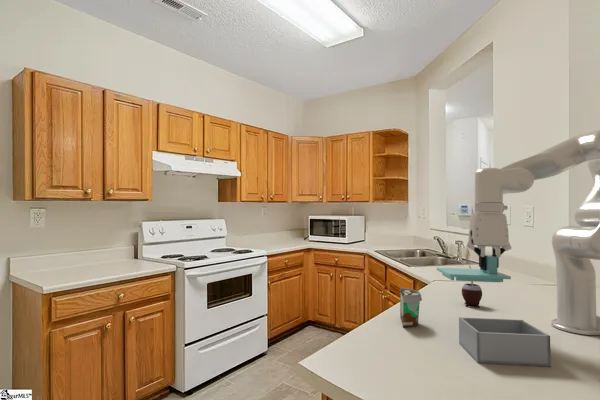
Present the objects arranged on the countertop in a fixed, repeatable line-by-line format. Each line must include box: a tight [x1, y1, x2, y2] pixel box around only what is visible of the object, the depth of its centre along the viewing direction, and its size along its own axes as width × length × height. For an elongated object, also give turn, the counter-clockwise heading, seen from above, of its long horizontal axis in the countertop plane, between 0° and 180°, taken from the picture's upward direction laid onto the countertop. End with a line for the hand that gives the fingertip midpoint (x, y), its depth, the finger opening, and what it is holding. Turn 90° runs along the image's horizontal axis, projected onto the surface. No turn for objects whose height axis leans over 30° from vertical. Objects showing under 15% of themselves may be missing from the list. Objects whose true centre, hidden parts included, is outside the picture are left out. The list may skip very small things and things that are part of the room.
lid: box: [436, 254, 512, 283], centre depth 104 cm, size 17×13×7 cm
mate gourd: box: [461, 264, 483, 309], centre depth 132 cm, size 8×8×15 cm
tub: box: [458, 316, 552, 368], centre depth 86 cm, size 16×12×7 cm
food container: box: [399, 287, 423, 329], centre depth 109 cm, size 12×6×10 cm, turn 168°
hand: (488, 269), depth 104 cm, fingers closed on lid
